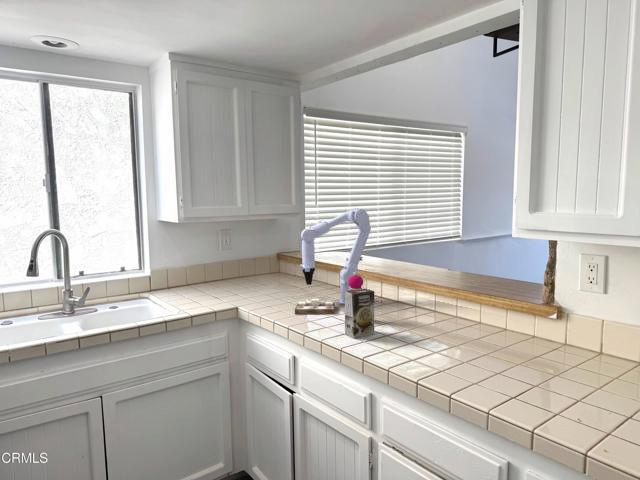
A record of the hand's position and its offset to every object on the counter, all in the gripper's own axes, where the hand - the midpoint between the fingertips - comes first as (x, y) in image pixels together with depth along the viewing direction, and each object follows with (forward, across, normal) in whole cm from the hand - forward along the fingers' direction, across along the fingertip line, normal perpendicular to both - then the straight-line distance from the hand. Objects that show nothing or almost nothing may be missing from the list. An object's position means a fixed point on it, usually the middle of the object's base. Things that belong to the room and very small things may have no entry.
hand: (309, 284), depth 205 cm
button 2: (+9, +9, +9) cm, 16 cm away
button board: (+9, +10, +4) cm, 15 cm away
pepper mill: (+10, +26, +21) cm, 35 cm away
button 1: (+9, +9, -2) cm, 13 cm away
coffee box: (+10, +43, +22) cm, 49 cm away
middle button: (+8, +9, +4) cm, 12 cm away
